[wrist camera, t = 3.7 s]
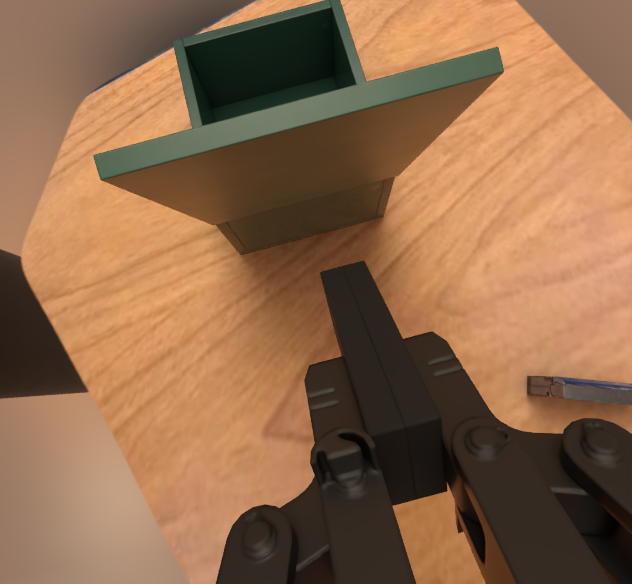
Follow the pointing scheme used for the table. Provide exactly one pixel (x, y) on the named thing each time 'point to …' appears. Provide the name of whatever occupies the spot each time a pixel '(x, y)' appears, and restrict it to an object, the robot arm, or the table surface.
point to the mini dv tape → (580, 389)
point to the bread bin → (276, 89)
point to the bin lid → (302, 143)
